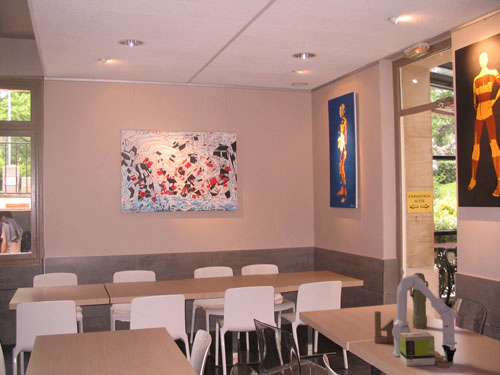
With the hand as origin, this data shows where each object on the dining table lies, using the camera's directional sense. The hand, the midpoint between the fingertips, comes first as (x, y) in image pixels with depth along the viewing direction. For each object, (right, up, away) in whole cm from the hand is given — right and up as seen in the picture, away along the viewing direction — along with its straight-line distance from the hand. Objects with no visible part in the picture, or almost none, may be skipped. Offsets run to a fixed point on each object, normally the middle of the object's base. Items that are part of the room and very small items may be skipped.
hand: (449, 360), depth 282 cm
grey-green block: (-2, -2, 0) cm, 3 cm away
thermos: (+9, -3, +78) cm, 79 cm away
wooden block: (-23, -3, +43) cm, 49 cm away
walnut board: (-4, -2, +5) cm, 7 cm away
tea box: (-16, -2, +2) cm, 16 cm away
